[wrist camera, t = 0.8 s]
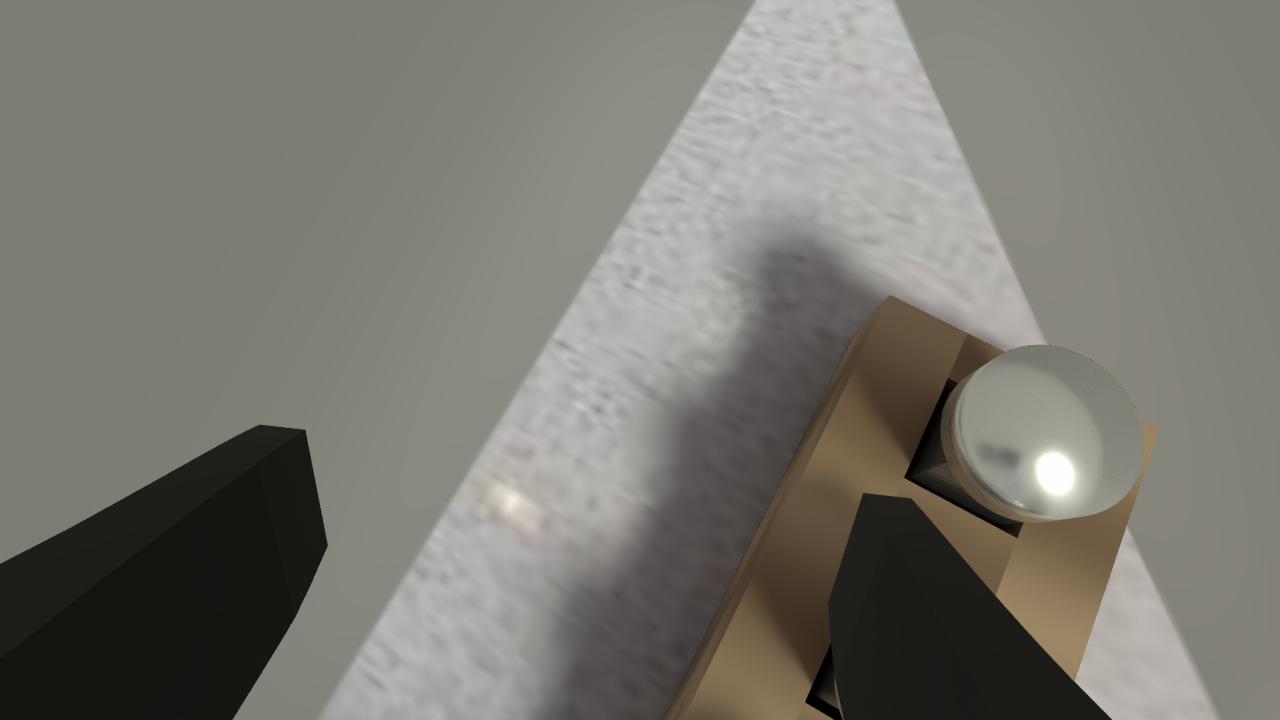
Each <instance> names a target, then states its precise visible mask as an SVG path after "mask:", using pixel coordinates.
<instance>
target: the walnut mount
mask: <svg viewBox="0 0 1280 720" xmlns="http://www.w3.org/2000/svg"><path fill="white" fill-rule="evenodd" d="M1003 353H1005V352H1004V351H1002V350H1000V349H998V348H996V347H994V346H992V345H990V344H988V343H986V342H984V341H982V340H980V339H978V338H976V337H974V336H972V335H970V334H968V333H966V332H964V331H962V330H959V329H957V328H955V327H953V326H951V325H949V324H947V323H945V322H943V321H941V320H939V319H937V318H935V317H933V316H931V315H929V314H927V313H925V312H923V311H921V310H919V309H917V308H915V307H913V306H911V305H909V304H907V303H905V302H903V301H901V300H899V299H897V298H895V297H893V296H891V295H890V296H889V297H888V298H887V299H886V300H885V301H884V302H883V303H882V305H881V306H880V307H879V308H878V309H877V310H876V311H875V312H874V314H873V315H872V316H871V317H870V318H869V319H868V320H867V321H866V323H865V324H864V325H863V326H862V327H861V328H860V329H859V330H858V332H857V333H856V334H855V335H854V336H853V338H852V340H851V342H850V344H849V346H848V348H847V350H846V352H845V354H844V356H843V358H842V360H841V362H840V364H839V366H838V368H837V370H836V372H835V374H834V376H833V378H832V380H831V382H830V384H829V386H828V388H827V390H826V392H825V394H824V396H823V398H822V400H821V402H820V404H819V406H818V408H817V410H816V412H815V414H814V416H813V418H812V420H811V422H810V424H809V426H808V428H807V430H806V432H805V435H804V437H803V439H802V441H801V443H800V445H799V447H798V449H797V451H796V453H795V455H794V457H793V459H792V461H791V463H790V465H789V467H788V469H787V471H786V473H785V475H784V477H783V479H782V481H781V483H780V485H779V487H778V489H777V491H776V493H775V495H774V497H773V499H772V501H771V503H770V505H769V507H768V509H767V511H766V513H765V515H764V517H763V519H762V521H761V523H760V525H759V527H758V529H757V531H756V533H755V535H754V537H753V539H752V541H751V543H750V545H749V547H748V550H747V552H746V554H745V556H744V558H743V560H742V562H741V564H740V566H739V568H738V570H737V572H736V574H735V576H734V578H733V580H732V582H731V584H730V586H729V588H728V590H727V592H726V594H725V596H724V598H723V600H722V602H721V604H720V606H719V608H718V610H717V612H716V614H715V616H714V618H713V620H712V622H711V624H710V626H709V628H708V630H707V632H706V634H705V636H704V638H703V640H702V642H701V644H700V646H699V648H698V650H697V652H696V654H695V656H694V658H693V660H692V662H691V664H690V667H689V669H688V671H687V673H686V675H685V677H684V679H683V681H682V683H681V685H680V687H679V689H678V691H677V693H676V695H675V697H674V699H673V701H672V703H671V705H670V707H669V709H668V711H667V713H666V715H665V717H664V719H663V720H837V719H835V718H834V717H832V716H830V715H828V714H827V713H825V712H823V711H822V710H820V709H818V708H817V707H815V706H813V705H812V704H810V703H808V702H807V701H805V700H806V698H807V696H808V693H809V691H810V689H811V687H812V684H813V682H814V680H815V678H816V675H817V673H818V671H819V669H820V666H821V664H822V662H823V659H824V657H825V655H826V653H827V650H828V648H829V646H830V644H831V634H830V623H829V612H828V602H829V598H830V595H831V592H832V589H833V586H834V583H835V580H836V576H837V573H838V570H839V567H840V564H841V561H842V558H843V554H844V551H845V548H846V545H847V542H848V539H849V535H850V532H851V529H852V526H853V523H854V520H855V517H856V513H857V510H858V507H859V504H860V501H861V498H862V495H863V493H869V494H878V495H887V496H896V497H905V498H912V500H913V501H914V502H915V503H916V504H917V505H918V506H919V507H920V508H921V510H922V511H923V512H924V513H925V514H926V515H927V516H928V518H929V519H930V520H931V521H932V522H933V523H934V525H935V526H936V527H937V528H938V529H939V530H940V532H941V533H942V534H943V535H944V536H945V537H946V539H947V540H948V541H949V542H950V543H951V544H952V546H953V547H954V548H955V549H956V550H957V552H958V553H959V554H960V555H961V556H962V557H963V559H964V560H965V561H966V562H967V563H968V564H969V566H970V567H971V568H972V569H973V570H974V571H975V572H976V574H977V575H978V576H979V577H980V578H981V579H982V581H983V582H984V583H985V584H986V585H987V586H988V588H989V589H990V590H991V591H992V592H993V593H994V594H995V596H996V597H997V598H998V599H999V600H1000V601H1001V602H1002V603H1003V605H1004V606H1005V607H1006V608H1007V609H1008V610H1009V611H1010V612H1011V614H1012V615H1013V616H1014V617H1015V618H1016V619H1017V620H1018V621H1019V623H1020V624H1021V625H1022V626H1023V627H1024V628H1025V629H1026V630H1027V631H1028V632H1029V634H1030V635H1031V636H1032V637H1033V638H1034V639H1035V640H1036V641H1037V642H1038V643H1039V644H1040V646H1041V647H1042V648H1043V649H1044V650H1045V651H1046V652H1047V653H1048V654H1049V655H1050V656H1051V657H1052V658H1053V659H1054V661H1055V662H1056V663H1057V664H1058V665H1059V666H1060V667H1061V668H1062V669H1063V670H1064V671H1065V672H1066V673H1067V674H1068V675H1069V676H1070V678H1071V679H1072V680H1073V681H1075V678H1076V675H1077V672H1078V669H1079V666H1080V663H1081V660H1082V657H1083V654H1084V651H1085V648H1086V645H1087V642H1088V639H1089V636H1090V633H1091V630H1092V627H1093V624H1094V621H1095V618H1096V615H1097V612H1098V610H1099V607H1100V604H1101V601H1102V598H1103V595H1104V592H1105V589H1106V586H1107V583H1108V580H1109V577H1110V574H1111V571H1112V568H1113V565H1114V562H1115V559H1116V556H1117V553H1118V550H1119V547H1120V544H1121V541H1122V538H1123V535H1124V532H1125V529H1126V526H1127V523H1128V520H1129V517H1130V514H1131V511H1132V508H1133V505H1134V502H1135V499H1136V496H1137V493H1138V490H1139V487H1140V484H1141V481H1142V478H1143V475H1144V472H1145V469H1146V466H1147V463H1148V460H1149V457H1150V454H1151V451H1152V448H1153V445H1154V443H1155V440H1156V437H1157V434H1158V431H1159V428H1158V427H1156V426H1154V425H1152V424H1150V423H1148V422H1146V421H1144V420H1141V419H1140V421H1141V424H1142V428H1143V434H1144V448H1145V450H1144V459H1143V464H1142V468H1141V471H1140V474H1139V476H1138V478H1137V481H1136V482H1135V484H1134V485H1133V487H1132V489H1131V490H1130V491H1129V492H1128V493H1127V495H1126V496H1125V497H1124V498H1123V499H1121V500H1120V501H1119V502H1118V503H1117V504H1115V505H1113V506H1112V507H1110V508H1108V509H1107V510H1104V511H1102V512H1099V513H1097V514H1093V515H1088V516H1083V517H1077V518H1070V519H1064V520H1058V521H1051V522H1042V523H1028V522H1022V523H1016V524H1010V525H1004V526H997V527H995V526H993V525H991V524H989V523H987V522H985V521H984V520H982V519H980V518H978V517H976V516H974V515H972V514H970V513H968V512H967V511H965V510H963V509H961V508H959V507H957V506H955V505H953V504H952V503H950V502H948V501H946V500H944V499H942V498H940V497H938V496H937V495H935V494H933V493H931V492H929V491H927V490H925V489H923V488H922V487H920V486H918V485H916V484H914V483H912V482H910V481H908V480H906V479H905V478H904V476H905V474H906V472H907V469H908V467H909V465H910V463H911V460H912V458H913V456H914V454H915V451H916V449H917V447H918V444H919V442H920V440H921V438H922V435H923V433H924V431H925V429H926V426H927V424H928V422H929V420H930V417H931V415H932V413H933V411H934V408H935V406H936V404H937V401H938V399H940V398H942V397H943V396H945V395H947V394H948V393H950V392H951V391H953V389H954V388H955V387H956V386H957V385H958V384H959V383H960V382H961V381H962V380H963V379H964V378H965V377H967V376H968V375H969V374H971V373H972V372H974V371H975V370H977V369H979V368H980V367H982V366H983V365H985V364H987V363H988V362H990V361H991V360H993V359H995V358H996V357H998V356H999V355H1001V354H1003Z"/></svg>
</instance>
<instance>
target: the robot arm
mask: <svg viewBox="0 0 1280 720" xmlns="http://www.w3.org/2000/svg"><path fill="white" fill-rule="evenodd" d="M327 546H328V544H327V539H326V534H325V529H324V523H323V518H322V513H321V508H320V503H319V498H318V492H317V487H316V483H315V477H314V472H313V467H312V462H311V456H310V451H309V446H308V441H307V436H306V431H305V430H302V429H292V428H285V427H276V426H266V425H258V426H256V427H254V428H251V429H249V430H247V431H245V432H243V433H241V434H239V435H237V436H236V437H234V438H232V439H230V440H228V441H226V442H224V443H222V444H220V445H219V446H217V447H215V448H213V449H212V450H210V451H208V452H206V453H204V454H202V455H201V456H199V457H197V458H195V459H193V460H192V461H190V462H188V463H186V464H185V465H183V466H181V467H179V468H177V469H175V470H174V471H172V472H170V473H168V474H167V475H165V476H163V477H161V478H160V479H158V480H156V481H154V482H152V483H151V484H149V485H147V486H145V487H143V488H142V489H140V490H138V491H136V492H134V493H133V494H131V495H129V496H127V497H125V498H124V499H122V500H120V501H118V502H116V503H115V504H113V505H111V506H109V507H107V508H106V509H104V510H102V511H100V512H98V513H97V514H95V515H93V516H91V517H89V518H87V519H86V520H84V521H82V522H80V523H78V524H76V525H75V526H73V527H71V528H69V529H67V530H65V531H63V532H61V533H59V534H57V535H55V536H53V537H51V538H50V539H48V540H46V541H44V542H42V543H40V544H38V545H36V546H34V547H32V548H31V549H28V550H26V551H24V552H23V553H20V554H19V555H17V556H15V557H13V558H11V559H9V560H7V561H5V562H3V563H1V564H0V720H233V718H234V716H235V715H236V713H237V712H238V710H239V708H240V706H241V705H242V704H243V702H244V700H245V699H246V697H247V695H248V693H249V692H250V691H251V689H252V687H253V686H254V684H255V682H256V681H257V679H258V678H259V676H260V675H261V673H262V671H263V670H264V668H265V666H266V665H267V663H268V661H269V660H270V658H271V657H272V655H273V653H274V652H275V650H276V648H277V647H278V645H279V644H280V642H281V640H282V639H283V637H284V635H285V634H286V632H287V630H288V628H289V627H290V625H291V624H292V622H293V620H294V618H295V617H296V614H297V612H298V610H299V608H300V606H301V604H302V602H303V600H304V598H305V596H306V593H307V592H308V589H309V587H310V585H311V583H312V581H313V578H314V576H315V574H316V572H317V569H318V567H319V565H320V562H321V560H322V557H323V555H324V553H325V551H326V549H327ZM828 612H829V623H830V634H831V645H832V654H833V663H834V672H835V681H836V686H837V691H838V696H839V700H840V705H841V710H842V714H843V719H844V720H1112V719H1111V718H1110V717H1109V716H1108V715H1107V714H1106V713H1105V712H1104V711H1103V710H1102V709H1101V708H1100V707H1099V706H1098V705H1097V704H1096V703H1095V702H1094V701H1093V700H1092V699H1091V698H1090V697H1089V696H1088V695H1087V694H1086V693H1085V692H1084V691H1083V690H1082V689H1081V688H1080V687H1079V686H1078V685H1077V684H1076V683H1075V682H1074V681H1073V680H1072V679H1071V678H1070V676H1069V675H1068V674H1067V673H1066V672H1065V671H1064V670H1063V669H1062V668H1061V667H1060V666H1059V665H1058V664H1057V663H1056V662H1055V661H1054V659H1053V658H1052V657H1051V656H1050V655H1049V654H1048V653H1047V652H1046V651H1045V650H1044V649H1043V648H1042V647H1041V646H1040V644H1039V643H1038V642H1037V641H1036V640H1035V639H1034V638H1033V637H1032V636H1031V635H1030V634H1029V632H1028V631H1027V630H1026V629H1025V628H1024V627H1023V626H1022V625H1021V624H1020V623H1019V621H1018V620H1017V619H1016V618H1015V617H1014V616H1013V615H1012V614H1011V612H1010V611H1009V610H1008V609H1007V608H1006V607H1005V606H1004V605H1003V603H1002V602H1001V601H1000V600H999V599H998V598H997V597H996V596H995V594H994V593H993V592H992V591H991V590H990V589H989V588H988V586H987V585H986V584H985V583H984V582H983V581H982V579H981V578H980V577H979V576H978V575H977V574H976V572H975V571H974V570H973V569H972V568H971V567H970V566H969V564H968V563H967V562H966V561H965V560H964V559H963V557H962V556H961V555H960V554H959V553H958V552H957V550H956V549H955V548H954V547H953V546H952V544H951V543H950V542H949V541H948V540H947V539H946V537H945V536H944V535H943V534H942V533H941V532H940V530H939V529H938V528H937V527H936V526H935V525H934V523H933V522H932V521H931V520H930V519H929V518H928V516H927V515H926V514H925V513H924V512H923V511H922V510H921V508H920V507H919V506H918V505H917V504H916V503H915V502H914V501H913V500H912V498H905V497H896V496H887V495H878V494H869V493H863V495H862V498H861V501H860V504H859V507H858V510H857V513H856V517H855V520H854V523H853V526H852V529H851V532H850V535H849V539H848V542H847V545H846V548H845V551H844V554H843V558H842V561H841V564H840V567H839V570H838V573H837V576H836V580H835V583H834V586H833V589H832V592H831V595H830V598H829V602H828Z"/></svg>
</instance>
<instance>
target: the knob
mask: <svg viewBox="0 0 1280 720" xmlns="http://www.w3.org/2000/svg"><path fill="white" fill-rule="evenodd" d="M1144 450H1145V448H1144V434H1143V428H1142V424H1141V421H1140V418H1139V415H1138V413H1137V410H1136V408H1135V406H1134V404H1133V402H1132V400H1131V399H1130V397H1129V395H1128V394H1127V392H1126V391H1125V390H1124V388H1123V387H1122V386H1121V384H1120V383H1119V382H1118V381H1117V380H1116V379H1115V378H1114V377H1113V376H1112V375H1111V374H1110V373H1109V372H1108V371H1107V370H1105V369H1104V368H1103V367H1102V366H1100V365H1099V364H1097V363H1096V362H1095V361H1093V360H1091V359H1089V358H1087V357H1086V356H1084V355H1082V354H1079V353H1077V352H1075V351H1072V350H1069V349H1065V348H1062V347H1057V346H1051V345H1028V346H1023V347H1018V348H1015V349H1012V350H1009V351H1007V352H1005V353H1003V354H1001V355H999V356H998V357H996V358H995V359H993V360H991V361H990V362H988V363H987V364H985V365H983V366H982V367H980V368H979V369H977V370H975V371H974V372H972V373H971V374H969V375H968V376H967V377H965V378H964V379H963V380H962V381H961V382H960V383H959V384H958V385H957V386H956V387H955V388H954V389H953V391H951V392H950V393H948V394H947V395H945V396H943V397H942V398H940V399H938V401H937V404H936V406H935V408H934V411H933V413H932V415H931V417H930V420H929V422H928V424H927V426H926V429H925V431H924V433H923V435H922V438H921V440H920V442H919V444H918V447H917V449H916V451H915V454H914V456H913V458H912V460H911V463H910V465H909V467H908V469H907V472H906V474H905V476H904V478H905V479H906V480H908V481H910V482H912V483H914V484H916V485H918V486H920V487H922V488H923V489H925V490H927V491H929V492H931V493H933V494H935V495H937V496H938V497H940V498H942V499H944V500H946V501H948V502H950V503H952V504H953V505H955V506H957V507H959V508H961V509H963V510H965V511H967V512H968V513H970V514H972V515H974V516H976V517H978V518H980V519H982V520H984V521H985V522H987V523H989V524H991V525H993V526H995V527H997V526H1004V525H1010V524H1016V523H1022V522H1028V523H1042V522H1051V521H1058V520H1064V519H1070V518H1077V517H1083V516H1088V515H1093V514H1097V513H1099V512H1102V511H1104V510H1107V509H1108V508H1110V507H1112V506H1113V505H1115V504H1117V503H1118V502H1119V501H1120V500H1121V499H1123V498H1124V497H1125V496H1126V495H1127V493H1128V492H1129V491H1130V490H1131V489H1132V487H1133V485H1134V484H1135V482H1136V481H1137V478H1138V476H1139V474H1140V471H1141V468H1142V464H1143V459H1144Z"/></svg>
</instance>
